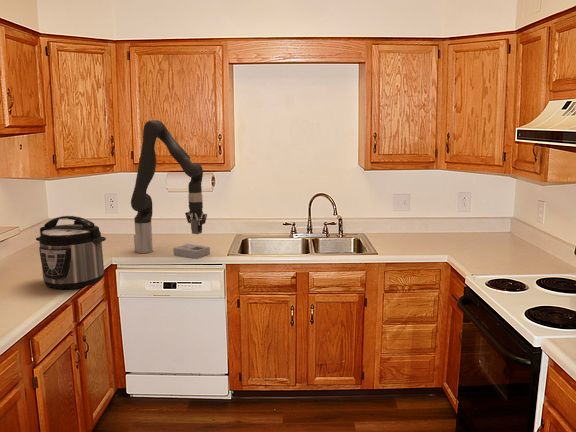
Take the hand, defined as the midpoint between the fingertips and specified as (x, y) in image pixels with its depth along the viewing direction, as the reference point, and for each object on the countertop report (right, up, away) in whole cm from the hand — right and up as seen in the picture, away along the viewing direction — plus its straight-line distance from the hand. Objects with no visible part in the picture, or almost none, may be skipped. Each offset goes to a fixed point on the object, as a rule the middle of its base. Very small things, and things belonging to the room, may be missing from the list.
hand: (196, 231), depth 310 cm
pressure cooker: (-51, -23, -45) cm, 72 cm away
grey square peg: (0, -1, 0) cm, 1 cm away
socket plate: (-3, -13, +5) cm, 14 cm away
